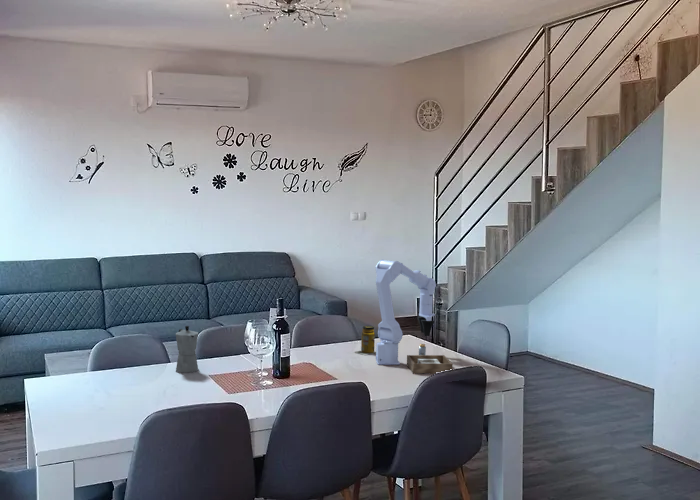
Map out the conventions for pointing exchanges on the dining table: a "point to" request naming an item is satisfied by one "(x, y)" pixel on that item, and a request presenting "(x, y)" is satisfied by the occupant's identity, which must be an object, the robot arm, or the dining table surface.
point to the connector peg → (422, 349)
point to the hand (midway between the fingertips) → (425, 334)
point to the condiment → (367, 341)
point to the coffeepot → (186, 351)
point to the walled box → (428, 363)
